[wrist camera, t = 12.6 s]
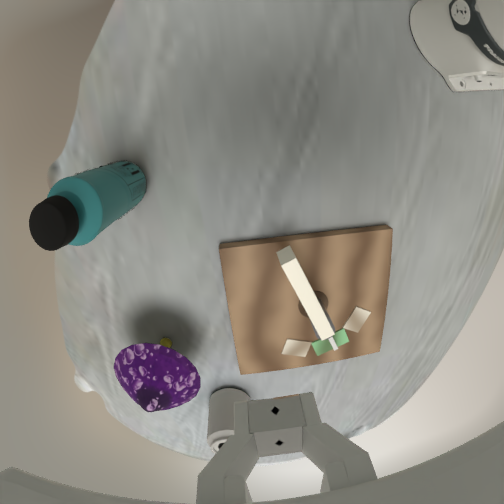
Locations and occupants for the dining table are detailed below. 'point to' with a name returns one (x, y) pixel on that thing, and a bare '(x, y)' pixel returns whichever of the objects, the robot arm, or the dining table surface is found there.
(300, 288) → the cream lever
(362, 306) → the board
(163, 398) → the decorative mushroom
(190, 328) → the dining table surface
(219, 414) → the can
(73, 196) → the beverage bottle
